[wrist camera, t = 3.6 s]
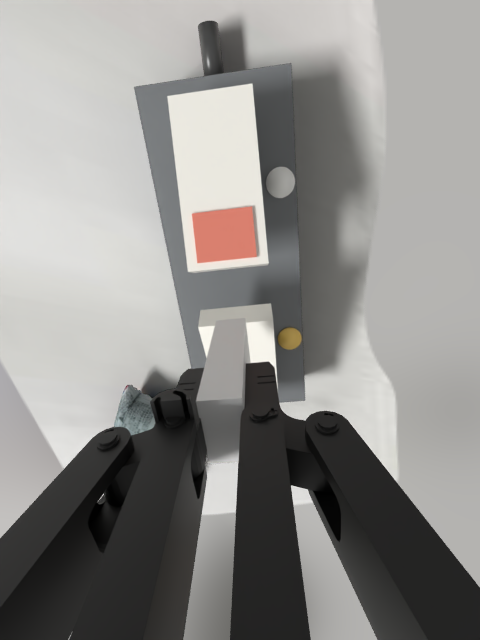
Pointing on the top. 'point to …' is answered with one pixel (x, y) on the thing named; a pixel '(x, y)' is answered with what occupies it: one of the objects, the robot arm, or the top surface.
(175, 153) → the rocker white
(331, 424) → the robot arm
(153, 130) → the rocker switch box
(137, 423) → the packaged food
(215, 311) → the white switch paddle
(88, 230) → the top surface
